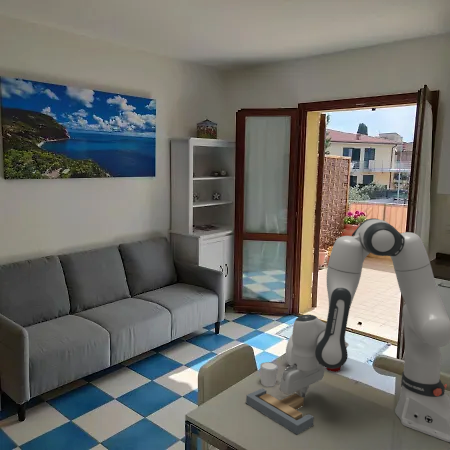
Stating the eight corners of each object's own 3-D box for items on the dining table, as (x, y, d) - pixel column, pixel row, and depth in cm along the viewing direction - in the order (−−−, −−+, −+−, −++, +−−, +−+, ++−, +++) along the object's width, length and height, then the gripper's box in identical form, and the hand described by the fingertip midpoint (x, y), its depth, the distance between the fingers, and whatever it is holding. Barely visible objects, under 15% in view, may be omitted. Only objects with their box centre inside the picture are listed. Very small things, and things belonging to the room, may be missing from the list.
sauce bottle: (287, 361, 186) (289, 321, 183) (305, 365, 183) (307, 324, 181) (283, 369, 178) (285, 327, 176) (301, 372, 175) (304, 330, 173)
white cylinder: (276, 388, 162) (277, 370, 161) (258, 386, 163) (259, 368, 162) (277, 380, 169) (278, 363, 168) (260, 377, 170) (261, 360, 169)
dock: (313, 425, 139) (313, 416, 138) (297, 434, 133) (297, 425, 133) (262, 396, 156) (262, 388, 156) (246, 403, 151) (246, 395, 150)
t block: (317, 413, 146) (317, 405, 145) (293, 426, 138) (294, 417, 137) (281, 394, 158) (282, 386, 157) (258, 405, 150) (258, 396, 149)
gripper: (290, 372, 142) (288, 411, 143) (328, 356, 155) (325, 392, 157) (276, 365, 146) (274, 403, 148) (314, 350, 160) (312, 385, 161)
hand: (301, 397), depth 152 cm, fingers closed
